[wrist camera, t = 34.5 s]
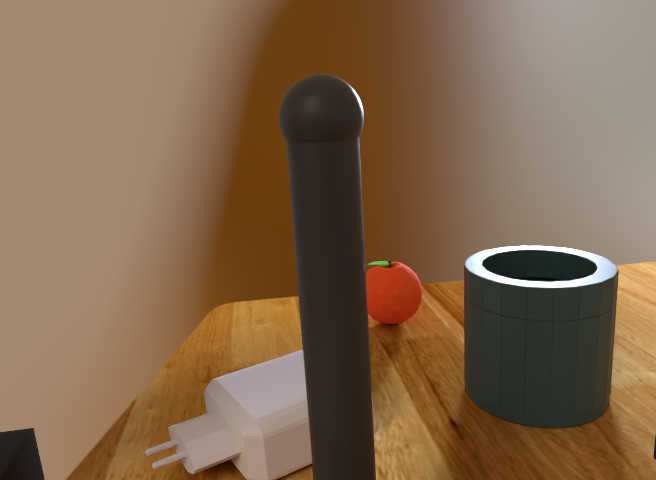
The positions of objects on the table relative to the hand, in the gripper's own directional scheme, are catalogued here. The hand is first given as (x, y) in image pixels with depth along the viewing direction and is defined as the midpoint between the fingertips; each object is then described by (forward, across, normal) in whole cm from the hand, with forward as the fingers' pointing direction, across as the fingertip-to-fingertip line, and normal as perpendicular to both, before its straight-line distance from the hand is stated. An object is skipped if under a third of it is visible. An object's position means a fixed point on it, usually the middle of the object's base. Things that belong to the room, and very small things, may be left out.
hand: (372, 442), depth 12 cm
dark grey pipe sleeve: (+29, +20, -18) cm, 40 cm away
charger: (+26, -4, -18) cm, 32 cm away
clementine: (+47, +11, -18) cm, 52 cm away
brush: (+10, +1, -18) cm, 20 cm away
